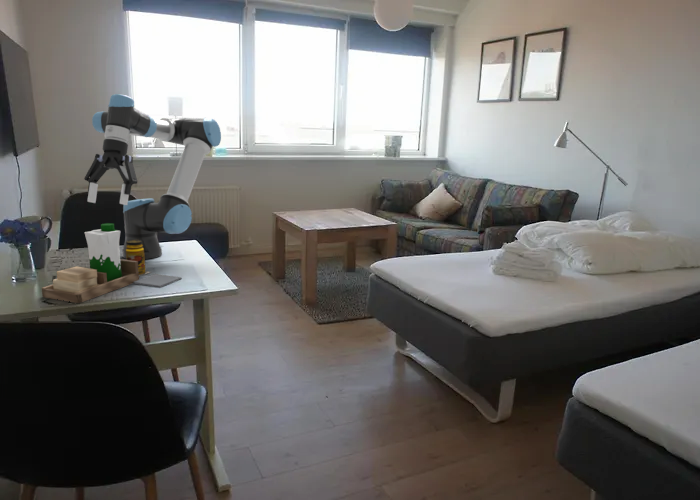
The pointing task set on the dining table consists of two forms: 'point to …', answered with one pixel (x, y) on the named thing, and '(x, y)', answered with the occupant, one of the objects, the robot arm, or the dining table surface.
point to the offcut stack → (75, 279)
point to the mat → (157, 280)
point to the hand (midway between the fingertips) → (107, 203)
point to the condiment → (136, 255)
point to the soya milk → (105, 251)
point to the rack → (128, 277)
